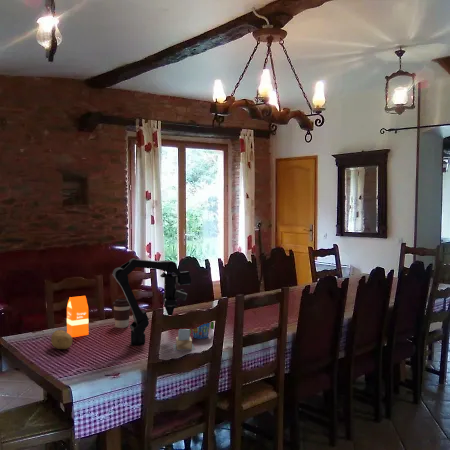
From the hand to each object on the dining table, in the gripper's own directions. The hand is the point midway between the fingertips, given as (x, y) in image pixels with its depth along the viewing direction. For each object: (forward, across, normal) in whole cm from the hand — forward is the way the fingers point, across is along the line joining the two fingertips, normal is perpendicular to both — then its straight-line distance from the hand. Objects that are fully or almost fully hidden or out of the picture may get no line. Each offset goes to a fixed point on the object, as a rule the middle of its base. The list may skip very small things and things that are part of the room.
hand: (169, 316), depth 254 cm
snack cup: (+12, +3, -16) cm, 20 cm away
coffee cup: (+12, +31, +25) cm, 42 cm away
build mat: (+12, -14, -6) cm, 19 cm away
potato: (+12, -8, +51) cm, 53 cm away
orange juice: (+12, +17, +47) cm, 51 cm away
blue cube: (+8, -14, -6) cm, 17 cm away
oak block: (+12, -14, -6) cm, 19 cm away
